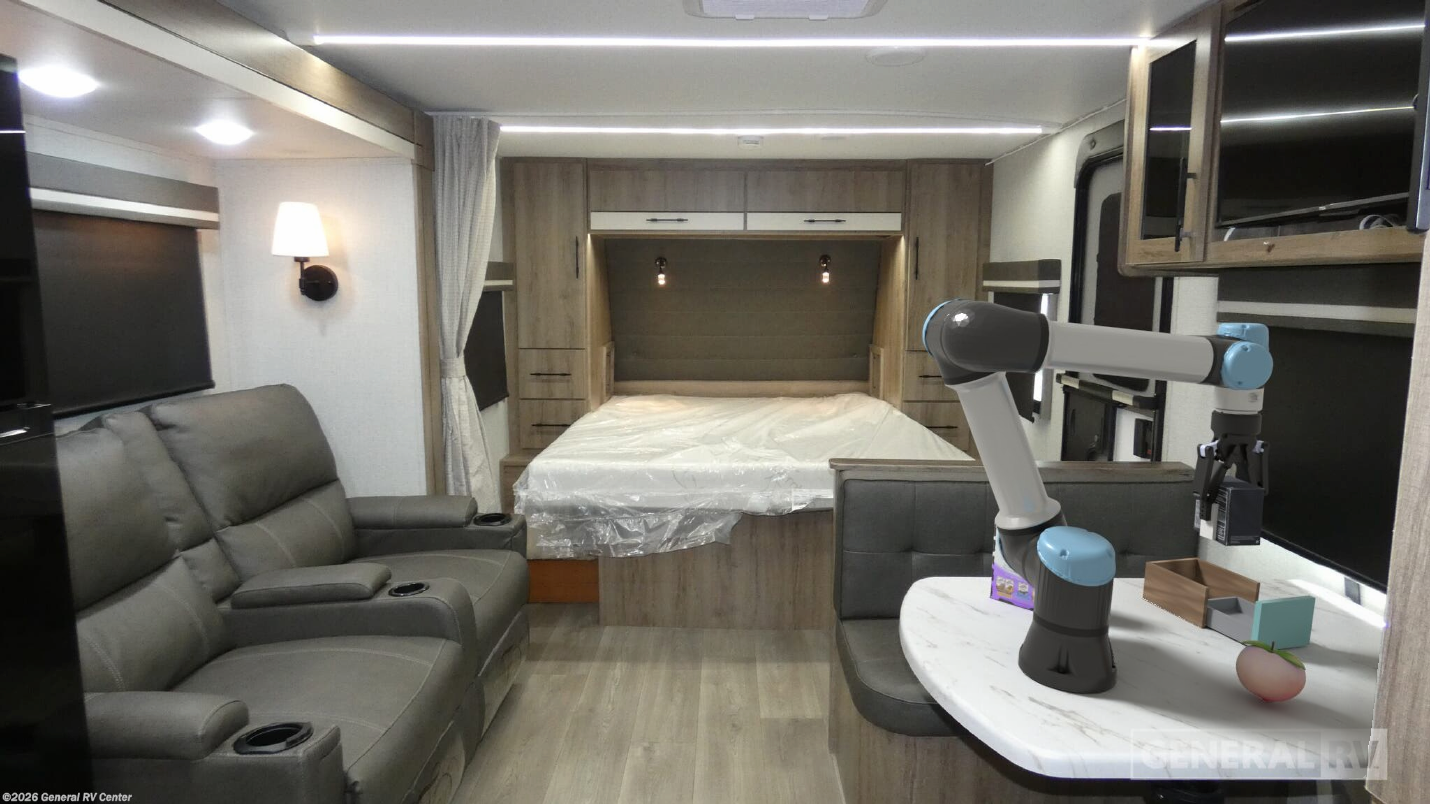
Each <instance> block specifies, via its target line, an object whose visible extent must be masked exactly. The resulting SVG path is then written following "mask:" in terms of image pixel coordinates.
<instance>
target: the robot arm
mask: <svg viewBox="0 0 1430 804" xmlns="http://www.w3.org/2000/svg"><path fill="white" fill-rule="evenodd" d="M1269 333H1270V332H1269V328H1268V326H1267V325H1265V324H1262V323H1256V322H1254V323H1253V322H1224V323H1223V322H1222V323H1221V324H1219V326H1218V330H1217V332H1216V334H1210V335H1208V334H1207V335H1205V334H1203V335H1199V334H1198V335H1197V334H1196V335H1195V334H1191V335H1190V334H1188V335H1187V334H1176V333H1169V332H1168V333H1167V332H1159V331H1149V330H1148V331H1147V330H1141V329H1140V330H1138V329H1130V328H1123V327H1122V328H1121V327H1112V326H1111V327H1110V326H1102V325H1095V324H1094V325H1093V324H1085V323H1074V322H1065V321H1057V320H1056V321H1055V320H1050V318H1049V317H1048V316H1047V314H1045V313H1041V312H1033V311H1027V310H1021V309H1018V308H1012V307H1009V306H1006V305H1002V304H998V303H995V302H991V301H985V300H972V299H969V298H955V299H952V300H948V301H945V302H943V303H941V304H939V305H938V306H936V307H935V308H933V309H932V311H931V312H930V313H929V314H928V316H927V318H926V320H925V322H924V324H923V327H922V343H923V345H924V348H925V349H926V351H927V352H928V354H929V356H931V358H933V360H935V361H936V364H937V367H938V369H939V372H940V376H941V379H942V380H943V383H944V386H945V387H948V388H950V389H952V390H954V391H956V394H957V395H958V399H959V402H960V404H961V406H962V410H963V413H964V415H965V418H966V421H967V423H968V426H969V430H970V431H971V432H970V433H971V435H972V437H973V440H974V443H975V446H976V448H977V451H978V454H979V457H980V460H981V463H982V465H983V468H984V471H985V473H986V476H987V479H988V481H989V485H990V487H991V490H992V493H993V495H994V498H995V501H996V503H997V505H998V509H999V511H998V512H997V514H996V516H995V518H994V525H995V524H996V526H997V529H998V537H997V542H998V548H999V551H1000V553H1001V555H1002V557H1003V559H1004V561H1005V562H1006V564H1007V565H1008V566H1009V567H1010V568H1011V569H1012V570H1013V571H1015V572H1016V573H1017V574H1019V575H1020V576H1021V577H1022V578H1023V579H1024V580H1025V581H1026V582H1027V583H1028V584H1030V586H1032V587H1033V588H1034V589H1035V596H1034V609H1033V610H1032V621H1031V624H1030V626H1029V628H1028V631H1027V632H1026V636H1025V638H1024V639H1023V640H1024V641H1023V643H1021V646H1020V647H1019V650H1018V660H1017V663H1018V667H1019V669H1020V670H1021V672H1023V674H1025V675H1026V676H1027V677H1029V678H1030V679H1032V680H1034V681H1035V682H1038V683H1040V684H1042V685H1045V686H1047V687H1051V688H1054V689H1057V690H1061V691H1067V692H1072V693H1081V694H1095V693H1102V692H1106V691H1109V690H1111V689H1112V688H1113V687H1115V685H1116V683H1117V677H1118V676H1117V675H1118V673H1117V672H1118V667H1117V664H1116V663H1117V662H1116V660H1115V656H1114V652H1113V648H1112V644H1111V641H1110V640H1111V639H1110V637H1109V632H1110V629H1109V628H1110V621H1111V611H1112V603H1113V602H1112V601H1113V590H1114V580H1115V575H1116V571H1117V570H1116V569H1117V568H1116V566H1117V565H1116V552H1115V549H1114V547H1113V545H1112V543H1110V541H1109V540H1107V539H1106V538H1105V537H1103V536H1102V535H1100V534H1098V533H1096V532H1094V531H1088V530H1087V529H1084V528H1081V527H1076V526H1068V523H1067V521H1066V518H1065V517H1066V516H1065V514H1064V513H1063V508H1062V507H1061V504H1060V502H1059V501H1058V500H1056V499H1054V498H1051V497H1049V496H1048V494H1047V491H1046V488H1045V485H1044V482H1043V480H1042V477H1041V474H1040V471H1039V468H1038V465H1037V462H1036V460H1035V456H1034V453H1033V450H1032V448H1031V445H1030V443H1029V439H1028V437H1027V434H1026V431H1025V428H1024V425H1023V422H1022V420H1021V416H1020V414H1019V410H1018V408H1017V405H1016V403H1015V399H1014V396H1013V393H1012V391H1011V388H1010V386H1009V385H1010V384H1009V382H1008V380H1007V377H1006V373H1025V374H1038V373H1039V372H1040V371H1042V369H1050V370H1051V369H1052V370H1059V371H1069V372H1079V373H1087V374H1096V375H1097V374H1099V375H1108V376H1115V377H1116V376H1119V377H1128V378H1135V379H1147V380H1148V379H1149V380H1158V381H1166V382H1168V381H1169V382H1176V383H1187V384H1196V385H1203V386H1210V387H1211V386H1212V387H1213V392H1212V401H1211V402H1212V403H1211V406H1212V407H1213V408H1214V410H1213V411H1211V416H1210V417H1211V418H1210V430H1211V431H1212V433H1213V436H1212V439H1211V441H1210V442H1209V443H1206V444H1203V443H1198V444H1197V446H1196V453H1197V460H1196V465H1195V469H1194V473H1193V480H1192V484H1191V489H1190V498H1193V499H1194V500H1196V499H1197V500H1199V501H1200V512H1199V518H1200V519H1201V526H1200V533H1199V536H1201V537H1203V538H1206V539H1208V540H1211V541H1215V540H1216V529H1217V517H1218V505H1219V504H1216V503H1214V502H1215V500H1216V497H1217V495H1218V492H1219V486H1220V485H1221V484H1222V482H1223V480H1224V478H1225V475H1227V472H1228V471H1229V470H1230V469H1231V468H1232V467H1233V465H1235V467H1236V471H1237V475H1238V479H1240V480H1242V481H1245V482H1248V483H1250V484H1253V485H1256V486H1258V487H1261V488H1264V498H1263V500H1264V499H1265V496H1268V495H1269V493H1270V492H1269V491H1270V490H1269V457H1268V456H1269V452H1270V449H1271V443H1270V442H1268V441H1265V440H1264V441H1263V440H1258V439H1257V436H1258V435H1259V434H1260V433H1261V431H1262V430H1261V429H1262V419H1263V418H1262V417H1263V415H1262V414H1261V413H1260V411H1262V410H1263V403H1264V394H1265V393H1264V392H1265V391H1264V390H1265V384H1266V383H1267V381H1269V379H1270V377H1271V375H1272V372H1273V367H1274V361H1273V360H1274V359H1273V357H1272V354H1271V352H1270V347H1269V342H1270V341H1269V339H1270V336H1269ZM1208 494H1209V496H1207V495H1208Z"/></svg>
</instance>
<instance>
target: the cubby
mask: <svg viewBox="0 0 1430 804" xmlns="http://www.w3.org/2000/svg"><path fill="white" fill-rule="evenodd" d="M1144 571H1145V572H1144V579H1143V589H1142V599H1143V598H1144V599H1146V600H1148V601H1150V602H1152V603H1153V604H1152V603H1151V604H1152V605H1154V604H1156V605H1157V606H1156V605H1155V606H1156V607H1158V606H1159V607H1158V608H1160V607H1161V608H1160V609H1162V610H1164V609H1166V610H1167V611H1166V610H1165V611H1166V612H1168V611H1169V612H1168V613H1170V612H1171V613H1170V614H1172V615H1174V614H1175V615H1174V616H1176V615H1177V616H1176V617H1178V616H1180V617H1181V619H1182V618H1183V619H1182V620H1184V619H1185V620H1184V621H1186V622H1188V621H1189V622H1188V623H1190V624H1192V623H1193V624H1192V625H1194V626H1196V625H1197V626H1196V627H1198V626H1199V627H1198V628H1201V629H1204V628H1205V629H1206V625H1205V623H1206V614H1207V605H1208V599H1214V598H1223V597H1233V596H1238V597H1240V598H1243V599H1245V600H1247V601H1250V602H1252V603H1254V604H1255V603H1256V601H1259V597H1260V591H1261V590H1260V589H1261V582H1259V581H1257V580H1255V579H1252V578H1250V577H1246V576H1244V575H1241V574H1239V573H1237V572H1235V571H1232V570H1229V569H1228V568H1224V567H1222V566H1219V565H1217V564H1214V563H1212V562H1209V561H1206V560H1204V559H1202V558H1200V557H1189V558H1188V557H1187V558H1178V559H1175V558H1174V559H1166V560H1154V561H1146V562H1145V570H1144ZM1144 599H1143V600H1144ZM1146 600H1145V601H1146ZM1148 601H1147V602H1148ZM1150 602H1149V603H1150ZM1180 617H1179V618H1180Z"/></svg>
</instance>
